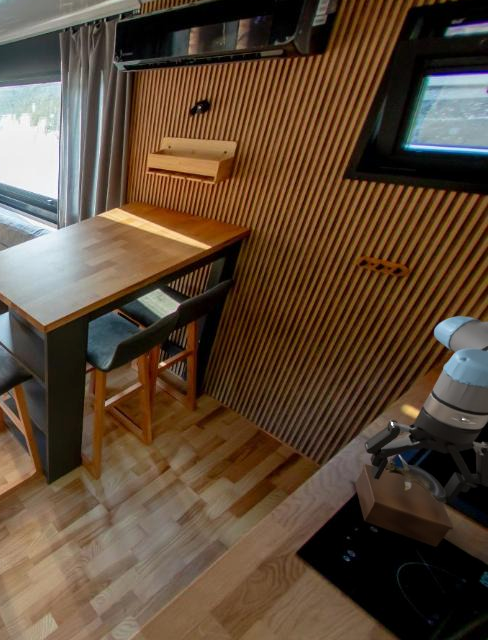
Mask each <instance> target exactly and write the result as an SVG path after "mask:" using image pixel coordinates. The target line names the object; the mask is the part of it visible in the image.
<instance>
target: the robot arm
mask: <svg viewBox="0 0 488 640" xmlns="http://www.w3.org/2000/svg"><path fill="white" fill-rule="evenodd" d="M433 335H434V337H435V339H436V340H437V341H438V342H440V343H441V344H442V345H443V346H445V347H446V348H447V349H448V350H449V351H451V352H453V354H452V356H451V357H450V358H449V359H448V361H447V362H446V363H445V364H444V365H443V367H442V368H443V369H442V370H441V372H440V374H439V377H438V378H437V380H436V382H435V384H434V386H433V388H432V390H431V391H430V393H429V395H428V396H427V398H426V400H425V401H424V403H423V406H422V407H421V409H420V410H419V413H418V415H417V416H416V418H415V419H414V422H413V423H411V424H409V425H407V424H402V423H399V422H398V421H397V420H395V419H389V421H388V423H387V426H385V427H384V428H383V429H381V430H380V431H379V432H378V433H376V434H375V435H373V436H372V437H371V438H369V439H368V440H366V441H365V442H364V443H363V444H364V448H365V451H366V453H368V454H370V455H371V457H370V463H371V466H373V467H372V469H371V471H372V474H373V477H374V479H378V480H379V478H380V476H381V474H382V473H383V471H384V470H386V468H385V467H386V466H387V465H388V463H389V459H388V458H391V457H394V456H396V455H400V454H402V453H405V452H408V451H412V450H415V451H417V450H421V449H426V450H430V451H436V452H439V453H440V454H441V453H442V454H444V455H447V454H449V455H450V456H451V457H452V459H453V461H454V463H455V464H456V466H457V468H458V470H459V472H460V473H459V472H456V471H454V473H453V474H452V475H451V477H450V478H449V480H448V481H447V483H446V485H445V486H443V489H444V490H445V493H446V494H445V495H446V497H445V499H446V500H445V501H446V502H448V503H453V502H454V501H455V499H456V498H457V497H458V495H459V494H460V493H468V492H469V491H470V489H471V488H472V489H473V488H474V489H476V488H478V484H479V485H482V486H484V487H487V488H488V442H487V441H482V442H478V441H477V442H476V440H477V438H478V437H479V435H480V433H481V432H482V430H483V428H484V427H485V426H486V424H487V423H488V320H487V321H482V320H480V319H477V318H475V317H471V316H461V315H457V316H452V317H449V318H446V319H444V320H442V321H441V322H439V323H438V324H437V325H436V326H435V328H434V331H433ZM404 433H406V434H405V435H404ZM402 435H404V436H403V437H400V438H398V437H399V436H402ZM397 438H398V439H397ZM472 449H473V451H474V452H475V465H476V473H471V471H470V469H469V467H468V465H467V464H466V462H465V460H464V458H463V457H462V455H461V453H460V452H463V451H467V450H472Z"/></svg>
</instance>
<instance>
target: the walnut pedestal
mask: <svg viewBox="0 0 488 640" xmlns="http://www.w3.org/2000/svg"><path fill="white" fill-rule="evenodd" d="M372 467H373V465H372V464H371V465H370V464H367V463H363V464H362V470H361V472H360V473H359V476H358V477H357V480H356V481H355V488H356V493H357V497H358V500H359V506H360V509H361V514H362V517H363V521H364V522H365V523H368V524H370V525H373V526H376V527H379V528H382V529H385V530H387V531H389V532H393V533H396V534H398V535H401V536H404V537H406V538H408V539H412V540H415V541H417V542H421V543H424V544H427V545H429V546H432V547H435V548H437V547H438V546H439V544H440V543H441V542H442V541H443V539H444V538H445V536H446V535H447V534H448V532H449V531H453V529H454V526H453V524H452V522H451V519H450V517H449V514H448V512H447V509H446V507H445V505H444V503H439V502H436V501H435V500H434V499H433V498H432V497H431V495H430V494H429V493H428V492H427V491H426V490H425V489H424V488H423V487H422V486H421V485H419V484H417V483H415V482H412V485H411V488H410V489H408V490H405V482H404V480H403V475H401V474H397V473H388V472H387V470H388V469H384V471H383V473H382V474H381V476H380V478H379V480H378V479H374V477H373V474H372V471H371V469H372Z"/></svg>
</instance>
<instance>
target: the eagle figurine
mask: <svg viewBox="0 0 488 640" xmlns="http://www.w3.org/2000/svg"><path fill="white" fill-rule="evenodd" d="M398 457H399V459H400V460H401V462H402V467H401V466H397V465H396V462H395V461H394V459H392V458H391V457H389V460H390V461H388V464H387V465H386V467H385V469H386V470H387V472H388V473H397V474H401V475H403V480H404V482H405V490H408V489H410V488H411V485H412V482H415V483H417V484H419V485H421V486H422V487H423V488H424V489H425V490H426V491H427V492H428V493H429V494H430V495H431V497H432V498H433V499H434V500H435V501H436V502H439V503H443V505H444V504H446V503H447V501H446V498H445V497H446V495H445V494H446V493H445V490H444V486H442V484H441V483H440V482H439V481H438V479H437V478H435V476H433V475H432V474H430V473H429V472H428V471H426V470H424V469H423V468H421V467H419V466H418V465H413V464H412V465H411V464H408V463H407V462H406V460H405V459H404V458H403V456H402V455H400V454H398Z"/></svg>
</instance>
